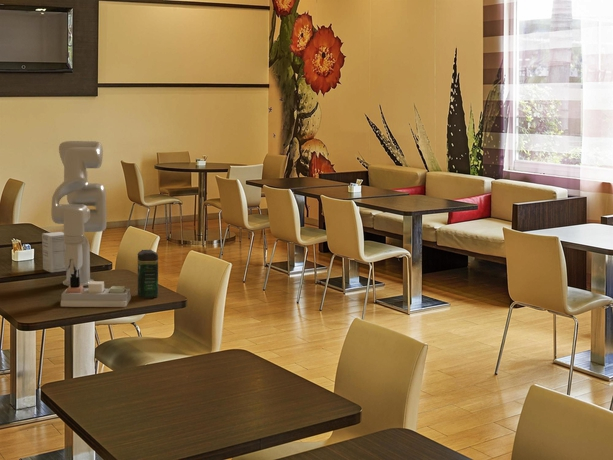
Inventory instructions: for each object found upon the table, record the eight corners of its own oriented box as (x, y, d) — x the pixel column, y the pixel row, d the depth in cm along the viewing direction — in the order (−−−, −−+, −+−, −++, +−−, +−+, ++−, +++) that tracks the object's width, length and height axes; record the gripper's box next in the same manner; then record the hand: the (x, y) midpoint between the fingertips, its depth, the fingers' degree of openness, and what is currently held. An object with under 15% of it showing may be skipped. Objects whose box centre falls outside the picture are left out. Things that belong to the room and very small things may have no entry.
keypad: (68, 298, 322) (68, 287, 321) (130, 299, 323) (130, 287, 323) (60, 306, 309) (60, 294, 308) (125, 306, 311) (125, 295, 310)
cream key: (91, 290, 318) (90, 281, 317) (104, 290, 318) (104, 281, 318) (88, 293, 313) (88, 284, 313) (101, 293, 313) (101, 284, 313)
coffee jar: (159, 298, 326) (159, 252, 323) (139, 299, 323) (139, 252, 321) (156, 293, 335) (155, 248, 332) (136, 294, 332) (136, 248, 330)
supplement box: (62, 267, 383) (61, 231, 381) (70, 270, 376) (70, 234, 374) (42, 269, 377) (41, 233, 375) (50, 272, 370) (49, 235, 368)
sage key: (112, 294, 319) (112, 285, 318) (125, 294, 319) (125, 286, 319) (109, 297, 314) (109, 288, 313) (123, 297, 314) (123, 288, 314)
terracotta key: (70, 294, 318) (69, 285, 317) (83, 294, 318) (83, 285, 318) (67, 297, 313) (66, 288, 312) (80, 297, 313) (80, 288, 313)
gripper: (68, 236, 319) (69, 283, 322) (59, 242, 305) (60, 291, 307) (88, 236, 320) (89, 283, 322) (80, 242, 305) (80, 291, 308)
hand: (75, 287), depth 315 cm, fingers closed
